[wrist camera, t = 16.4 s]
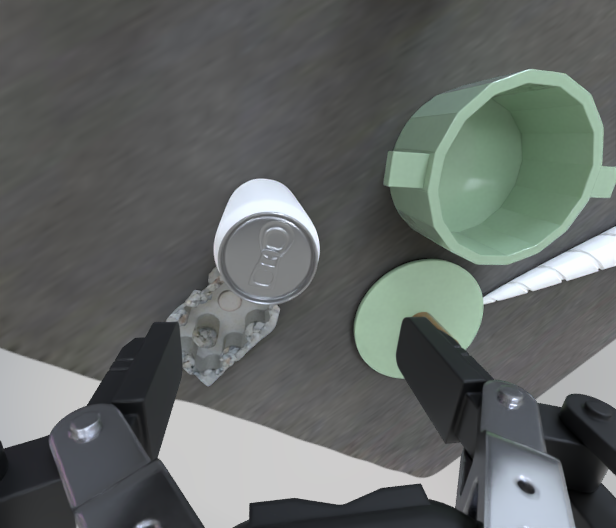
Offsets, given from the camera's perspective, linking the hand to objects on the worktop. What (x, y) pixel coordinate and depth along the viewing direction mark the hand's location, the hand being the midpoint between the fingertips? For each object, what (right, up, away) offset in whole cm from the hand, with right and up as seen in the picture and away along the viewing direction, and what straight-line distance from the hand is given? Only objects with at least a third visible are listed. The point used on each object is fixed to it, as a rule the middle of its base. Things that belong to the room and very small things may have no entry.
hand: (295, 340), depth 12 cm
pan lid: (+12, -3, +24) cm, 27 cm away
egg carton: (-8, -2, +21) cm, 22 cm away
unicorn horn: (+30, +4, +25) cm, 39 cm away
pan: (+15, +12, +19) cm, 27 cm away
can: (-4, +7, +18) cm, 20 cm away
